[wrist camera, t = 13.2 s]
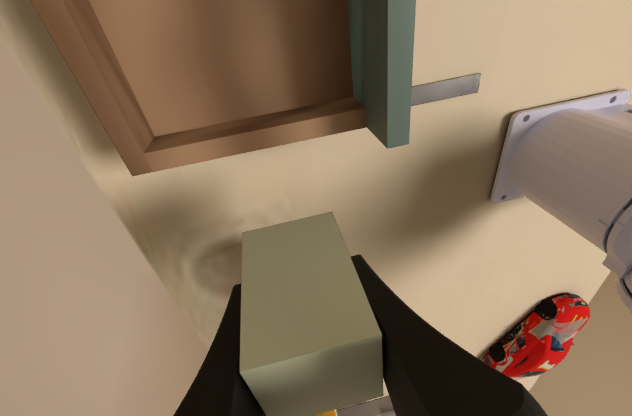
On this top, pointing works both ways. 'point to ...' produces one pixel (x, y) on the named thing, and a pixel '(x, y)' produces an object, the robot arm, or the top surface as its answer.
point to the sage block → (306, 321)
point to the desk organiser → (370, 408)
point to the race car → (540, 338)
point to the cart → (236, 72)
